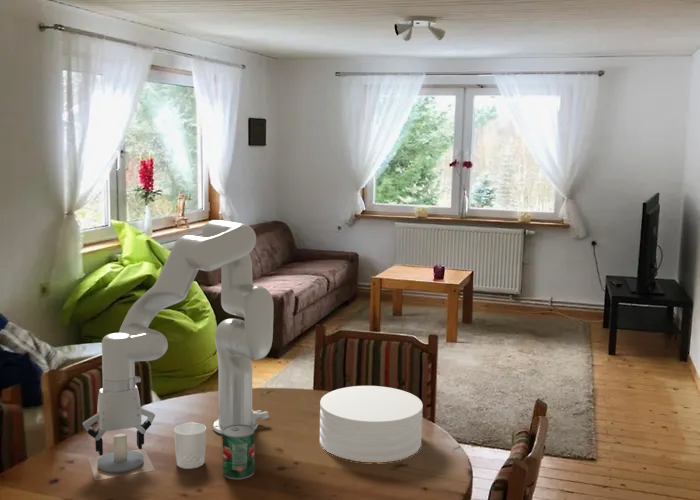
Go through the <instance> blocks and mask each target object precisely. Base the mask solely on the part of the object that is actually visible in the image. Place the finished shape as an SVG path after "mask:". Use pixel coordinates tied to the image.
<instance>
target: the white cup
mask: <svg viewBox="0 0 700 500" xmlns="http://www.w3.org/2000/svg"><path fill="white" fill-rule="evenodd" d="M173 436H174V438H173V439H174V451H175V460H176V467H177V466H178V467H179V468H181V469H188V470H189V469H195V468H199V467H201V466H203V465H204V464H205V456H206V444H207V443H206V441H207V440H206V439H207V426H206V425H205V424H203V423H199V422H185V423H181V424H178V425H176V426H175V427H174V428H173Z"/></svg>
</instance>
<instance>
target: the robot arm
mask: <svg viewBox="0 0 700 500" xmlns="http://www.w3.org/2000/svg"><path fill="white" fill-rule="evenodd" d="M201 233H202V234H201V235H202V236H199V235H194V234H193V235H190V234H189V235H188V234H187V235H184V236H180V237H179V238H178V239H176V241H175V242H174V244H173V246H172V248H171V250H170V252H169V255H168V256H167V258H166V261H165V263H164V264H163V265H162V268H161V271H160V273H159V275H158V277H157V279H156V281H155V283H154V284H153V286H152V287H151V288H149V289H148V290H147V291H146V292H144V293H143V294H142V295H141V296H140V297H139V298H138V299H137V300H136V301H135V302H133V304H132V306H130V308H129V309H128V311H127V314H126V315H125V317H124V320H123V322H122V324H121V326H120V328H119V331H118V332H113V333H108V334H106V335H105V336H104V337H102V339H101V364H102V365H101V367H102V372H101V373H102V388H100V389H98V390H99V391H98V396H97V406H96V407H97V409H96V410H97V411H96V413H95V414H94V415H92V416H91V417H89V418H87V419H86V420H85V421H83V422H82V426H83V428H84V429H85V430H86V432H87V433H88V435H89V436H91V437H92V438H93V439H95V440H94V441H95V452H98V454H99V455H98V456H101V455H104V452H103V450H104V447H103V443H104V441H103V438H102V437H103V436H104V435H105V433H106V432H113V431H121V430H129V429H134V428H136V429H137V430H136V446H137V448H138V450H139V449H143V445H145V434H146V431H147V430H148V429H149V428H150V427H151V426H152V423H153V422H154V419H155V417H156V414H155V413H154V412H152V411H150V410H147V409H146V408H142V407H141V399H140V393H139V388H138V386H137V383H141V382H142V378H141V376H138V375H137V376H136V374H135V370H136V369H135V363H136V362H149V361H155V360H159V359H160V358H161V357H163V356H164V355H165V353H166V352H167V350H168V347H169V342H168V340H167V337H166V336H165V335H164V334H163V333H161V332H160V331H158V330H156V329H155V330H154V329H152V328H149V325H151V323H152V322H153V319H154V318H155V317H156V315H158V314H159V313H160V312H161V311H162V310H164V309H166V308H168V307H171V306H174V305H176V304H178V303H181V302H182V301H184V300H185V299H186V298H187V296H188V293H189V292H190V289H191V287H192V286H193V285H192V284H193V283H194V281H195V278H196V277H197V274H198V272H199V270H200V271H204V272H212V271H216V270H219V269H220V270H221V278H220V279H221V280H220V281H221V284H220V285H221V287H220V289H221V290H220V292H221V293H220V305H221V308H222V309H223V311H224V312H226V313H228V314H229V315H234V316H235V317H240V318H227V319H224V320H222V321H221V322H220V323H219V324H218V325H217V327H216V328H215V332H214V342H215V343H214V344H215V349H216V355H217V362H218V363H217V366H218V367H217V368H218V419H216V420H215V421H214V422H213V424H212V427H213V430H214V432H216V433H217V434H219V435H223V433H222V430H223V429H224V428H225V427H227V426H230V425H235V424H245V425H249V426H252V427H253V428H254V430H255V431H256V430H257V429H258V424H259V423H258V421H259V420H265V419H269V417H270V414H269V411H262V410H261V409H259V410H254V409H253V362H252V360H255V361H256V360H257V361H258V360H261V359H264V358H265V357H266V356H267V355H268V354H269V353H270V350H271V348H272V345H273V344H272V343H273V339H274V338H273V334H274V305H275V304H274V298H273V296H272V294H271V292H270V291H269V290H268V288H266V287H265V286H262V285H258V284H254V281H253V262H252V257H251V255H250V253H251V252H252V251H253V249H255V246H256V243H257V235H256V232H255V230H254V229H253V227H251V226H250V225H248V224H245V223H242V222H235V221H229V220H222V219H212V220H209V221H207V222H206V223H205V224H204V225H203V227H202V231H201ZM241 318H243V319H244V320H242V319H241ZM142 416H144V417H147V418H146V420H145V421H144V422H142ZM95 423H96V424H97V426H98V427H97V428H96V430H95V429H94V428H93V427H92V426H91V425H93V424H95Z"/></svg>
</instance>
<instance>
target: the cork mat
mask: <svg viewBox="0 0 700 500" xmlns="http://www.w3.org/2000/svg"><path fill="white" fill-rule="evenodd" d="M132 451H137V452H139V453H141V454H142V455H143V457H144V463H143V465H142V466H141V467H140V468H138V469H136V470H133V471H130V472H126V473H118V474H112V473H105V472H102V471H100V470H99V469H98V465H97V461H98V459H99V458H100V457H101V456H103V455H104V454H103V455H101V456H100V455H96V456H89V457H87V460H88V462H89V463H88V464H89V467H90V469H91V472H92V475H93V478H94V479H93V480H94V481H102V480H107V479H108V480H109V479H113V478H114V479H115V478H119V477H126V476H131V475H138V474H142V473H149V472H154V471H156V469H155V468H154V466H153V463H152V461H151V460H150V458H149V455H148V454H147V452H146V450H145V448H142V449H139V448H138V449H133V450H132Z"/></svg>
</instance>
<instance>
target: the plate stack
mask: <svg viewBox="0 0 700 500" xmlns="http://www.w3.org/2000/svg"><path fill="white" fill-rule="evenodd" d="M319 403H320V404H319V407H320V410H319V445H320V444H321V445H320V447H321V446H322V447H323V448H322V447H321V448H322V450H324V449H325V450H326V451H327V452H329V453H331V454H334V455H336V456H339V457H342V458H346V459H351V460H355V461H361V462H387V461H394V460H398V459H402V458H405V457H408V456H410V455H412V454H414V453H416V452H417V451H418V450H419V448H420V447H421V448H422V435H423V434H422V433H423V432H422V429H423V408H424V407H423V406H424V404H423V402H422V400H421V399H420V398H419V397H418V396H416V395H414V394H413V393H411V392H409V391H408V392H407V391H405V390H402V389H399V388H398V389H397V388H393V387H388V386H382V385H381V386H379V385H356V386H355V385H353V386H347V387H346V386H345V387H342V388H337V389H335V390H332V391H329V392H327V393H326V394H324V395H323V396H322V397H321V399H320V401H319ZM421 448H420V449H421ZM325 450H324V451H325ZM326 451H325V452H326ZM419 451H420V450H419ZM419 451H418V452H419ZM327 452H326V453H327ZM418 452H417V453H418ZM329 453H328V454H329ZM417 453H416V454H417ZM331 454H330V455H331Z"/></svg>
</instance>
